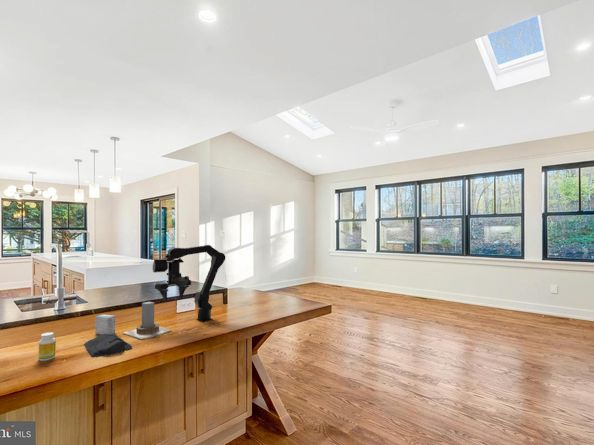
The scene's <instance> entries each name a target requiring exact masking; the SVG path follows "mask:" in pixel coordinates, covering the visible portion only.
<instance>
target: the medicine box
mask: <svg viewBox="0 0 594 445" xmlns="http://www.w3.org/2000/svg"><path fill="white" fill-rule="evenodd" d="M94 322H95V323H94V324H95V328H94V329H95V330H94V332H95V335H99V336H100V335H103V334H115V333H116V315H114V314H113V315H112V314H99V315H97V316H95V321H94Z"/></svg>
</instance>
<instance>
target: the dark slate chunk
mask: <svg viewBox="0 0 594 445" xmlns="http://www.w3.org/2000/svg"><path fill="white" fill-rule="evenodd" d="M83 347H84V348H85V350H86V351H87V354H89V357H91V358H99V357H105V356H111V355H114V354H115V355H116V354H119V353H122V351H123V352H125V351H128V350H131V349H132V348H133V346H132V345H131V344H130V343H128V342H126V341H125V340H124V339H123V338H121V337H120V336H118V335H117V334H115V333H114V334H103V335H100V334H99V335H98V336H96V337H95V338H93V339H90V340H88V341H86V342H84V344H83Z"/></svg>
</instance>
